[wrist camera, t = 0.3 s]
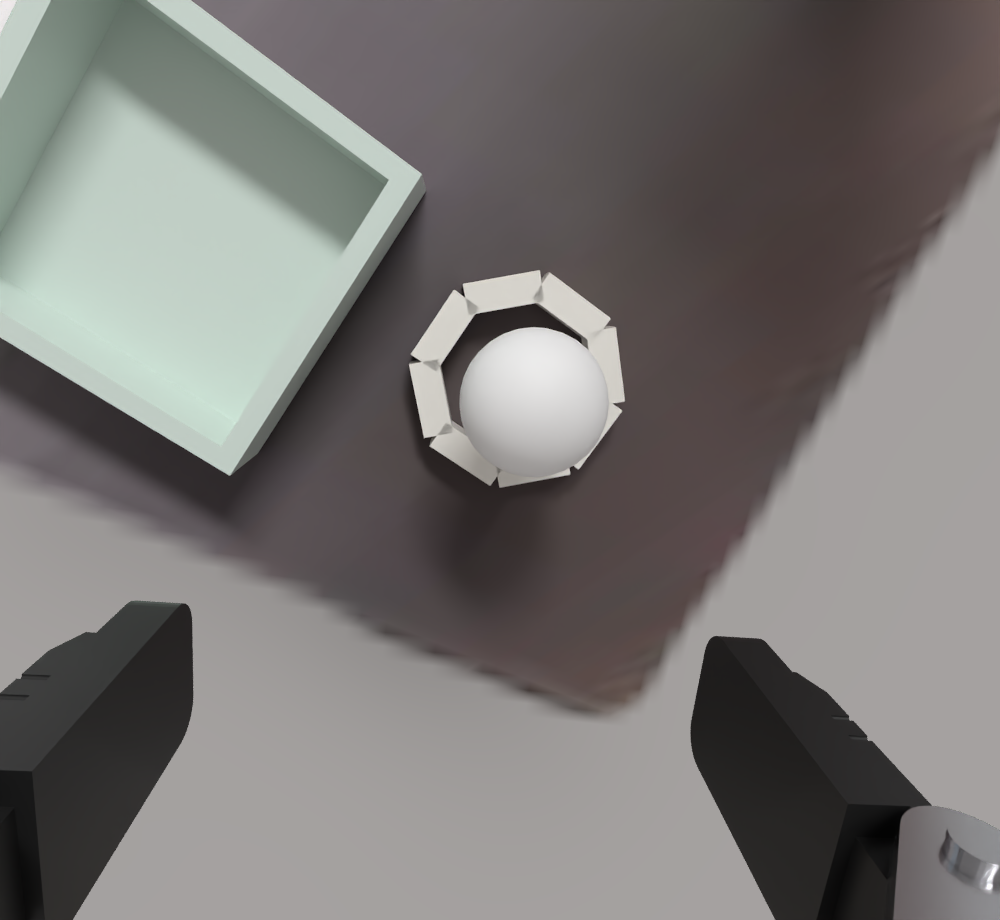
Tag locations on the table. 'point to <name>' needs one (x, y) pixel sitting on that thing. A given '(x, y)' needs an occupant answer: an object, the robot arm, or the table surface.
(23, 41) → the bin
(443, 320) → the socket collar
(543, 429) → the lightbulb
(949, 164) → the table surface
